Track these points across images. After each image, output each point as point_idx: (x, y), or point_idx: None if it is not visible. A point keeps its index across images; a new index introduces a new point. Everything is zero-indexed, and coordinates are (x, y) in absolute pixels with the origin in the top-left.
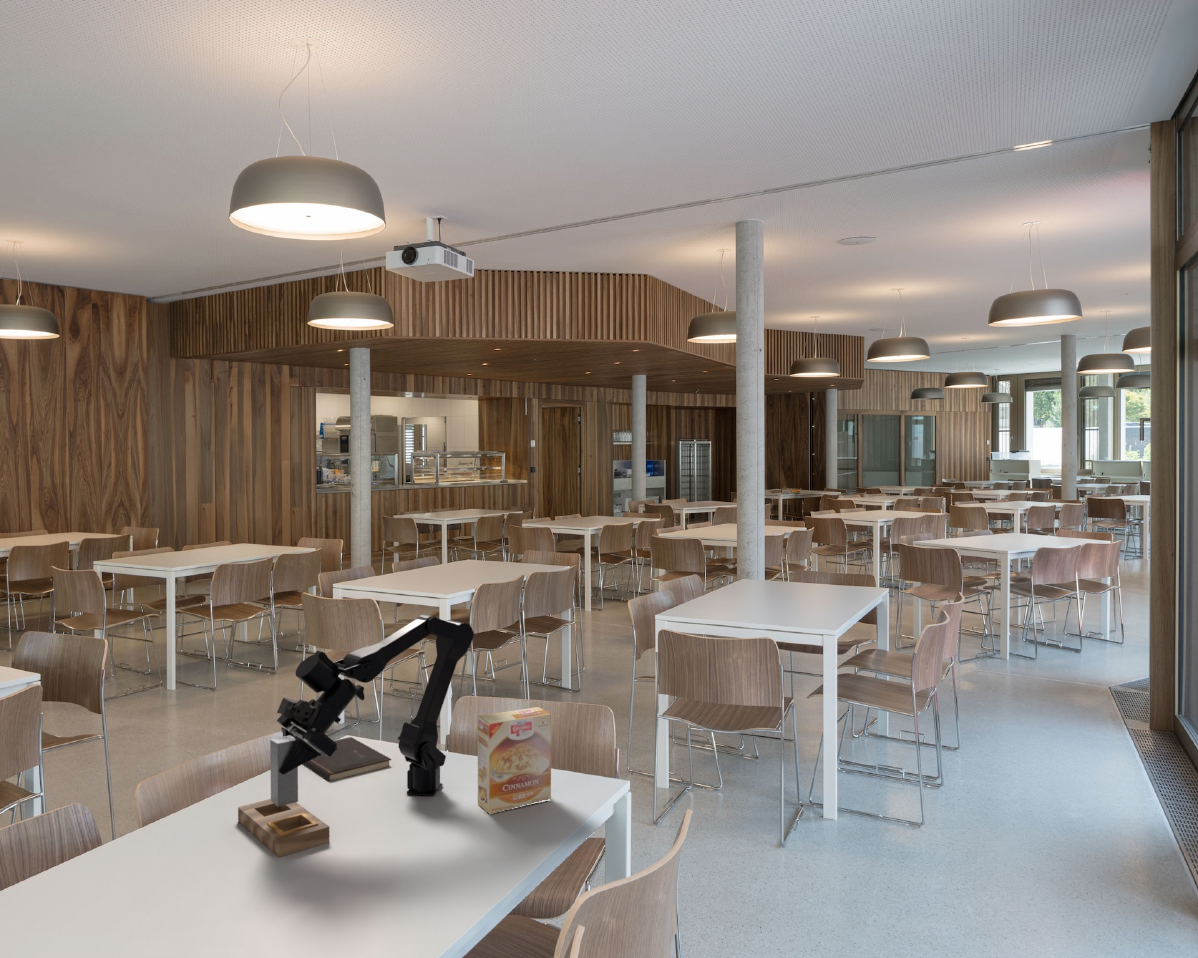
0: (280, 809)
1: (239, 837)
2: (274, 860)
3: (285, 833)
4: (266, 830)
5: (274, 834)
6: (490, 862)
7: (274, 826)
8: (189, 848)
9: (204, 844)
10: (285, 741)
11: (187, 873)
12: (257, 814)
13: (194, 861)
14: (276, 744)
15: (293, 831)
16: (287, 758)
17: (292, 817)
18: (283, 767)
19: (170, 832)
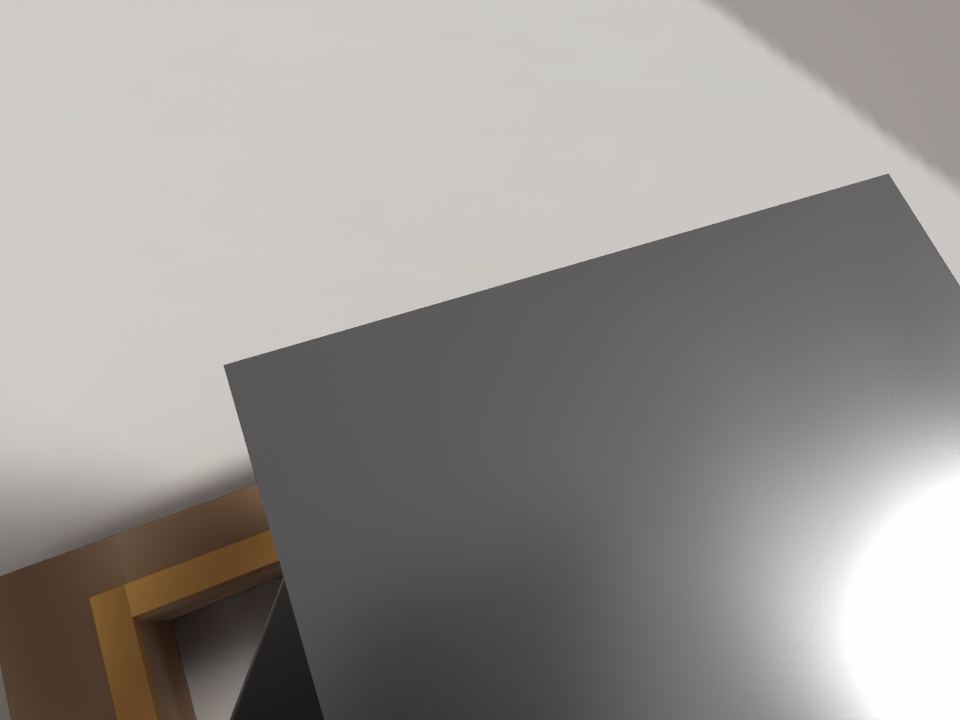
0: None
1: None
2: (4, 560)
3: (99, 634)
4: (253, 490)
5: (146, 549)
6: None
7: (272, 545)
8: (411, 138)
9: (434, 197)
10: (458, 712)
11: (96, 131)
12: None
13: (233, 158)
14: (324, 350)
15: (118, 700)
16: (316, 714)
17: None
18: (274, 616)
19: (636, 69)
